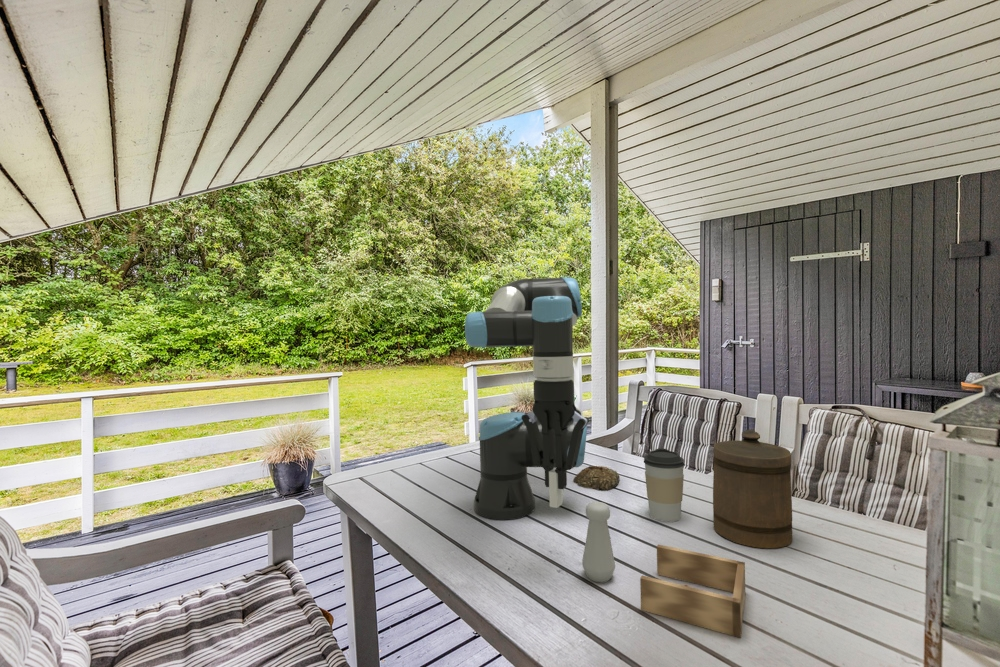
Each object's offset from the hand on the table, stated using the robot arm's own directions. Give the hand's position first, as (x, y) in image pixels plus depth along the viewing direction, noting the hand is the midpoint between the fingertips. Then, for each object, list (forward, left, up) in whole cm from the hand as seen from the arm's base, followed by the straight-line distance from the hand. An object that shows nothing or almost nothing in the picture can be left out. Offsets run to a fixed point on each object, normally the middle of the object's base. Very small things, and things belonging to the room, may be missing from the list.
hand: (556, 504), depth 87 cm
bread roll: (-9, +49, -12) cm, 51 cm away
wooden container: (+31, +32, -12) cm, 46 cm away
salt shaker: (+8, 0, -12) cm, 14 cm away
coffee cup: (+13, +33, -12) cm, 38 cm away
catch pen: (+24, 0, -12) cm, 27 cm away
